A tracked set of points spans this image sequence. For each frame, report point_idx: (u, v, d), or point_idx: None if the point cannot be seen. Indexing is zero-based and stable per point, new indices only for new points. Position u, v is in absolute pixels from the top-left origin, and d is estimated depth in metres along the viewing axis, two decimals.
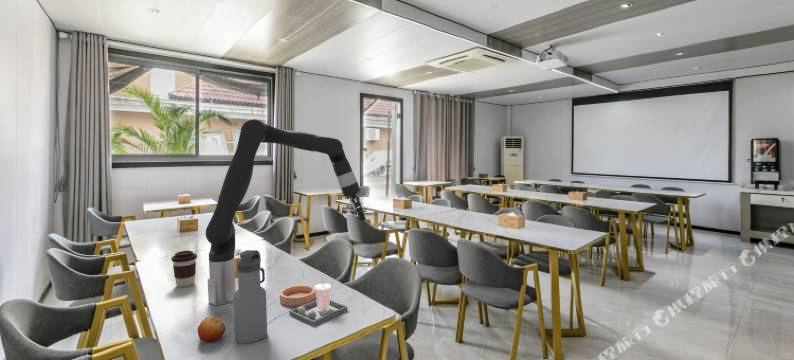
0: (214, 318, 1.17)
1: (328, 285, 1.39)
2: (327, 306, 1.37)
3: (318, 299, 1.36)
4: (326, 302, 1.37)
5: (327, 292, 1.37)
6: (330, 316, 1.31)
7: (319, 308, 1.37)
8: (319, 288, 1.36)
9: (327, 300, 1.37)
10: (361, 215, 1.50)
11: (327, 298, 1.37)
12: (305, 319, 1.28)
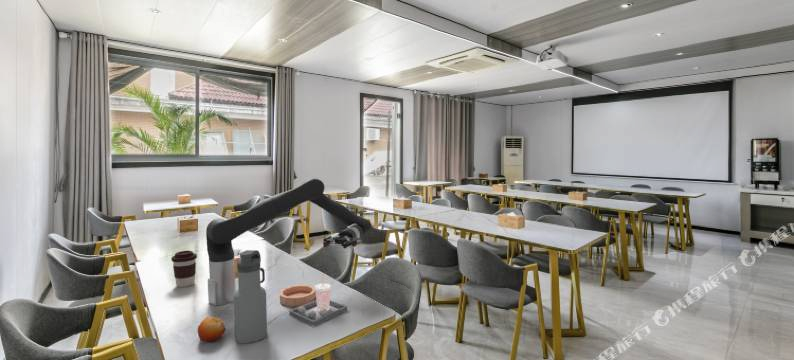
0: (214, 318, 1.17)
1: (328, 285, 1.39)
2: (327, 306, 1.37)
3: (318, 299, 1.36)
4: (326, 302, 1.37)
5: (327, 292, 1.37)
6: (330, 316, 1.31)
7: (319, 308, 1.37)
8: (319, 288, 1.36)
9: (327, 300, 1.37)
10: (348, 244, 1.49)
11: (327, 298, 1.37)
12: (305, 319, 1.28)
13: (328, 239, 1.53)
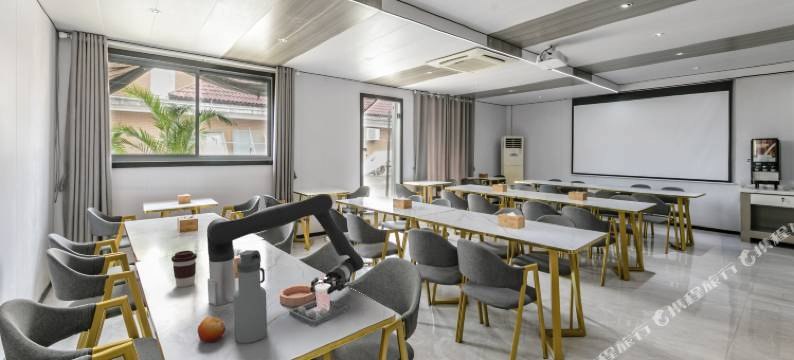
0: (214, 318, 1.17)
1: (328, 285, 1.39)
2: (327, 306, 1.37)
3: (318, 299, 1.36)
4: (326, 302, 1.37)
5: None
6: (330, 316, 1.31)
7: (319, 308, 1.37)
8: (319, 288, 1.36)
9: (327, 300, 1.37)
10: (333, 289, 1.37)
11: (327, 298, 1.37)
12: (305, 319, 1.28)
13: (316, 282, 1.41)
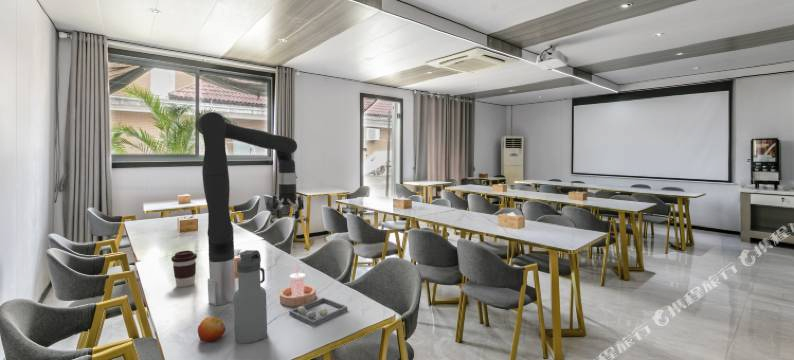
0: (214, 318, 1.17)
1: (302, 274, 1.49)
2: (301, 294, 1.47)
3: (293, 287, 1.46)
4: (300, 290, 1.47)
5: (301, 280, 1.47)
6: (330, 316, 1.31)
7: (294, 295, 1.47)
8: (293, 277, 1.46)
9: (301, 288, 1.47)
10: (298, 213, 1.62)
11: (301, 286, 1.47)
12: (305, 319, 1.28)
13: (277, 209, 1.63)
